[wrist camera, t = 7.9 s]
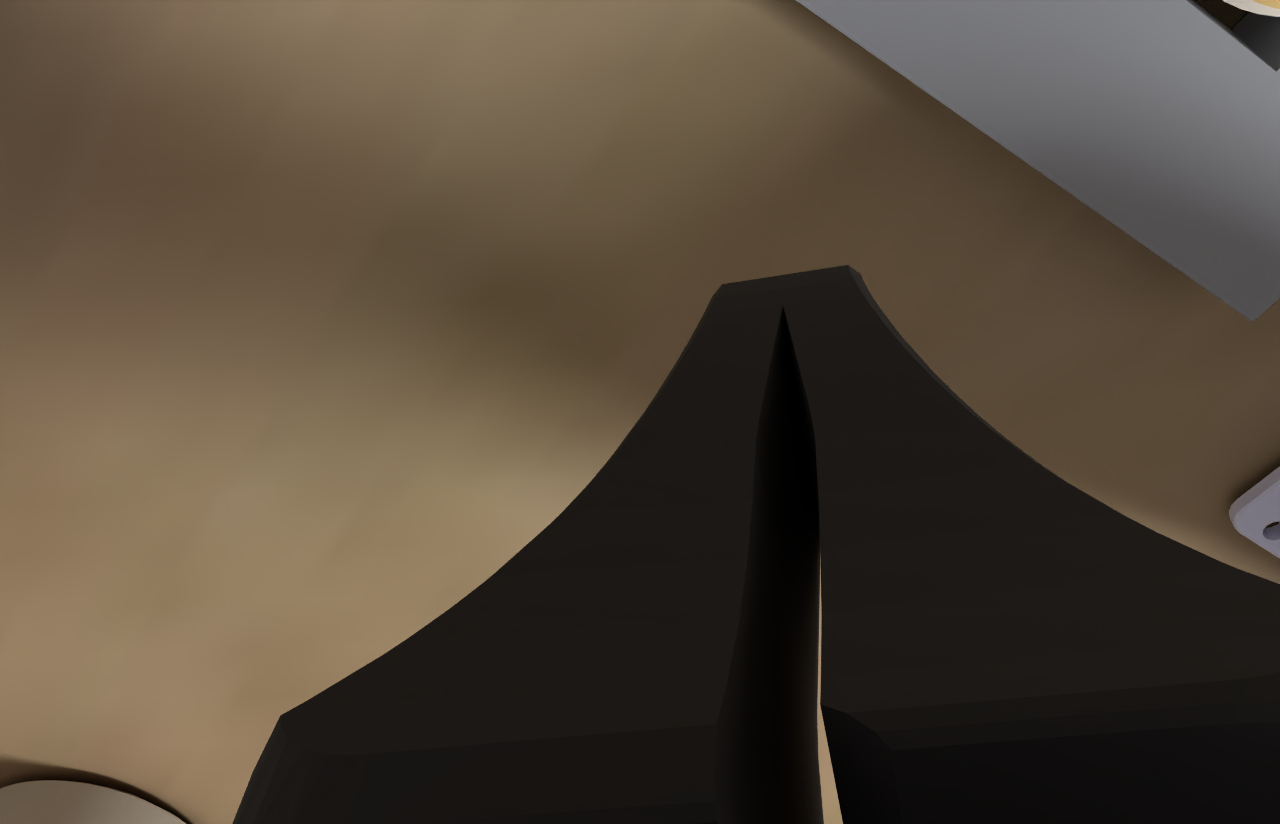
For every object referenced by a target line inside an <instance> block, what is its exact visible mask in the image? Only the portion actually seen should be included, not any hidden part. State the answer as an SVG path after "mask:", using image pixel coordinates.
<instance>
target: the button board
mask: <svg viewBox="0 0 1280 824" xmlns="http://www.w3.org/2000/svg"><path fill="white" fill-rule="evenodd" d="M796 1H798V2H799V3H800V4H802V5H803V6H805V7H806V8H808V9H809V10H810V11H812V12H813V13H815V14H816V15H817V16H819V17H820V18H822V19H823V20H825V21H826V22H827V23H829V24H830V25H832V26H833V27H834V28H836V29H837V30H839V31H840V32H842V33H843V34H844V35H846V36H847V37H849V38H850V39H851V40H853V41H854V42H856V43H857V44H859V45H860V46H861V47H863V48H864V49H866V50H867V51H868V52H870V53H871V54H873V55H874V56H876V57H877V58H878V59H880V60H881V61H883V62H884V63H886V64H887V65H888V66H890V67H891V68H893V69H894V70H895V71H897V72H898V73H900V74H901V75H903V76H904V77H905V78H907V79H908V80H910V81H911V82H912V83H914V84H915V85H917V86H918V87H920V88H921V89H922V90H924V91H925V92H927V93H928V94H929V95H931V96H932V97H934V98H935V99H937V100H938V101H939V102H941V103H942V104H944V105H945V106H946V107H948V108H949V109H951V110H952V111H954V112H955V113H956V114H958V115H959V116H961V117H962V118H964V119H965V120H966V121H968V122H969V123H971V124H972V125H973V126H975V127H976V128H978V129H979V130H981V131H982V132H983V133H985V134H986V135H988V136H989V137H990V138H992V139H993V140H995V141H996V142H998V143H999V144H1000V145H1002V146H1003V147H1005V148H1006V149H1007V150H1009V151H1010V152H1012V153H1013V154H1015V155H1016V156H1017V157H1019V158H1020V159H1022V160H1023V161H1024V162H1026V163H1027V164H1029V165H1030V166H1032V167H1033V168H1034V169H1036V170H1037V171H1039V172H1040V173H1042V174H1043V175H1044V176H1046V177H1047V178H1049V179H1050V180H1051V181H1053V182H1054V183H1056V184H1057V185H1059V186H1060V187H1061V188H1063V189H1064V190H1066V191H1067V192H1068V193H1070V194H1071V195H1073V196H1074V197H1076V198H1077V199H1078V200H1080V201H1081V202H1083V203H1084V204H1085V205H1087V206H1088V207H1090V208H1091V209H1093V210H1094V211H1095V212H1097V213H1098V214H1100V215H1101V216H1102V217H1104V218H1105V219H1107V220H1108V221H1110V222H1111V223H1112V224H1114V225H1115V226H1117V227H1118V228H1120V229H1121V230H1122V231H1124V232H1125V233H1127V234H1128V235H1129V236H1131V237H1132V238H1134V239H1135V240H1137V241H1138V242H1139V243H1141V244H1142V245H1144V246H1145V247H1146V248H1148V249H1149V250H1151V251H1152V252H1154V253H1155V254H1156V255H1158V256H1159V257H1161V258H1162V259H1163V260H1165V261H1166V262H1168V263H1169V264H1171V265H1172V266H1173V267H1175V268H1176V269H1178V270H1179V271H1180V272H1182V273H1183V274H1185V275H1186V276H1188V277H1189V278H1190V279H1192V280H1193V281H1195V282H1196V283H1198V284H1199V285H1200V286H1202V287H1203V288H1205V289H1206V290H1207V291H1209V292H1210V293H1212V294H1213V295H1215V296H1216V297H1217V298H1219V299H1220V300H1222V301H1223V302H1224V303H1226V304H1227V305H1229V306H1230V307H1232V308H1233V309H1234V310H1236V311H1237V312H1239V313H1240V314H1241V315H1243V316H1244V317H1246V318H1247V319H1249V320H1250V321H1251V322H1253V321H1254V320H1255V319H1257V318H1258V317H1259V316H1260V315H1261V314H1262V313H1263V312H1265V311H1266V310H1267V309H1268V308H1269V307H1270V306H1272V305H1273V304H1274V303H1275V302H1276V301H1277V300H1279V299H1280V17H1276V16H1268V15H1261V14H1256V13H1253V12H1249V13H1248V14H1247V15H1246V16H1245V17H1244V18H1243V19H1242V20H1241V21H1240V22H1239V23H1238V24H1237V25H1236V26H1235V27H1234V28H1233V29H1232V30H1231V29H1230V28H1228V27H1227V26H1226V25H1225V24H1223V23H1222V22H1221V21H1220V20H1218V19H1217V18H1216V17H1215V16H1213V15H1212V14H1211V13H1210V12H1208V11H1207V10H1206V9H1205V8H1203V7H1202V6H1201V5H1200V4H1198V3H1197V2H1196V1H1195V0H796Z"/></svg>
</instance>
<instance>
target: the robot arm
mask: <svg viewBox="0 0 1280 824" xmlns="http://www.w3.org/2000/svg"><path fill="white" fill-rule="evenodd" d="M1229 517H1230V520H1231V522H1232V524H1233V526H1234V528H1235V529H1236V530H1237V531H1238V532H1239V533H1240V534H1242V535H1243V536H1245V537H1246V538H1248V539H1250V540H1251V541H1253V542H1254V543H1256V544H1257V545H1259V546H1261V547H1262V548H1264V549H1265V550H1267V551H1269V552H1270V553H1272V554H1273V555H1275V556H1276V557H1278V558H1280V522H1279V521H1280V466H1279V467H1278V468H1277V469H1276V470H1274V471H1273V472H1272V473H1270V474H1269V475H1268V476H1266V477H1265V478H1264V479H1263V480H1261V481H1260V482H1259V483H1257V484H1256V485H1255V486H1253V487H1252V488H1251V489H1250V490H1248V491H1247V492H1246V493H1244V494H1243V495H1242V496H1240V497H1239V498H1238V499H1237V500H1236V501H1235V502H1234V503H1233V504H1232V505H1231V507H1230V510H1229ZM1273 522H1279V523H1278V524H1277V525H1275V526H1273V527H1269V528H1265V527H1266V526H1267V525H1269V524H1271V523H1273ZM820 552H821V602H822V638H821V699H820V705H821V710H822V716H823V721H824V726H825V731H826V736H827V742H828V747H829V752H830V757H831V763H832V768H833V773H834V778H835V783H836V789H837V794H838V799H839V804H840V809H841V815H842V820H843V824H1280V584H1277V583H1275V582H1272V581H1269V580H1266V579H1264V578H1261V577H1258V576H1256V575H1253V574H1250V573H1247V572H1245V571H1242V570H1239V569H1237V568H1234V567H1232V566H1229V565H1227V564H1225V563H1222V562H1220V561H1218V560H1215V559H1213V558H1211V557H1209V556H1207V555H1205V554H1202V553H1200V552H1198V551H1196V550H1194V549H1192V548H1189V547H1187V546H1185V545H1183V544H1181V543H1179V542H1176V541H1174V540H1172V539H1170V538H1168V537H1166V536H1163V535H1161V534H1159V533H1157V532H1155V531H1153V530H1151V529H1149V528H1147V527H1145V526H1143V525H1141V524H1139V523H1138V522H1136V521H1134V520H1132V519H1130V518H1128V517H1126V516H1124V515H1122V514H1121V513H1119V512H1117V511H1116V510H1114V509H1112V508H1110V507H1109V506H1107V505H1105V504H1103V503H1102V502H1100V501H1098V500H1097V499H1095V498H1093V497H1091V496H1090V495H1088V494H1086V493H1084V492H1083V491H1081V490H1079V489H1077V488H1076V487H1074V486H1072V485H1071V484H1069V483H1067V482H1066V481H1064V480H1063V479H1061V478H1060V477H1058V476H1057V475H1055V474H1054V473H1052V472H1051V471H1049V470H1048V469H1046V468H1045V467H1043V466H1042V465H1041V464H1039V463H1038V462H1037V461H1035V460H1034V459H1033V458H1031V457H1030V456H1029V455H1027V454H1026V453H1025V452H1023V451H1022V450H1021V449H1019V448H1018V447H1017V446H1015V445H1014V444H1012V443H1011V442H1010V441H1009V440H1007V439H1006V438H1005V437H1004V436H1002V435H1001V434H1000V433H999V432H998V431H996V430H995V429H994V428H993V427H992V426H990V425H989V424H988V423H987V422H986V421H985V420H983V419H982V418H981V417H980V416H979V415H978V414H976V413H975V412H974V411H973V410H972V409H971V408H970V407H969V406H968V405H967V404H966V403H965V402H964V401H962V400H961V399H960V398H959V397H958V396H957V395H956V394H955V393H954V392H953V391H952V390H951V389H950V388H949V387H948V386H947V385H946V384H945V383H944V382H943V381H942V380H941V379H940V378H939V377H938V376H937V375H936V374H935V373H934V372H933V371H932V370H931V369H930V368H929V367H928V365H927V364H926V363H925V362H924V361H923V360H922V359H921V358H920V357H919V355H918V354H917V353H916V352H915V351H914V350H913V349H912V348H911V347H910V345H909V344H908V343H907V342H906V341H905V340H904V339H903V337H902V336H901V335H900V334H899V332H898V331H897V330H896V329H895V328H894V326H893V325H892V324H891V322H890V321H889V320H888V318H887V317H886V316H885V314H884V313H883V312H882V310H881V309H880V307H879V306H878V305H877V303H876V302H875V300H874V299H873V297H872V295H871V294H870V292H869V291H868V289H867V287H866V285H865V283H864V281H863V279H862V276H861V274H860V273H858V272H857V271H855V270H854V269H853V268H851V267H850V266H849V265H845V266H839V267H832V268H826V269H819V270H813V271H806V272H800V273H793V274H787V275H780V276H774V277H767V278H761V279H755V280H748V281H742V282H735V283H729V284H722V285H721V287H720V288H719V289H718V290H717V292H716V293H715V294H714V295H713V297H712V299H711V301H710V303H709V305H708V307H707V309H706V311H705V313H704V314H703V316H702V318H701V320H700V322H699V324H698V326H697V328H696V329H695V331H694V333H693V335H692V337H691V338H690V340H689V342H688V344H687V345H686V347H685V349H684V351H683V352H682V354H681V356H680V358H679V359H678V361H677V362H676V364H675V366H674V367H673V369H672V370H671V372H670V373H669V375H668V377H667V378H666V380H665V381H664V383H663V385H662V386H661V388H660V389H659V391H658V392H657V394H656V396H655V397H654V399H653V400H652V402H651V403H650V405H649V406H648V408H647V409H646V411H645V412H644V413H643V415H642V416H641V417H640V419H639V420H638V421H637V423H636V424H635V425H634V427H633V428H632V429H631V431H630V432H629V434H628V435H627V436H626V438H625V439H624V440H623V442H622V443H621V444H620V446H619V447H618V448H617V450H616V451H615V453H614V454H613V455H612V456H611V458H610V459H609V460H608V461H607V463H606V464H605V465H604V466H603V468H602V469H601V470H600V471H599V472H598V474H597V475H596V476H595V477H594V478H593V480H592V481H591V482H590V483H589V484H588V485H587V486H586V488H585V489H584V490H583V491H582V492H581V493H580V494H579V495H578V496H577V497H576V498H575V499H574V500H573V501H572V502H571V503H570V505H569V506H568V507H567V508H566V509H565V510H564V511H563V512H562V513H561V514H560V515H559V516H558V517H557V518H556V519H555V520H554V521H553V522H552V523H551V524H550V525H548V526H547V527H546V528H545V529H544V530H543V531H542V532H541V533H539V534H538V535H537V536H536V537H535V538H534V539H533V540H532V541H530V542H529V543H528V544H527V545H526V546H525V547H524V548H523V549H522V550H520V551H519V552H518V553H517V554H516V555H515V556H514V557H513V558H511V559H510V560H509V561H508V562H507V563H506V564H505V565H504V566H502V567H501V568H500V569H499V570H498V571H497V572H496V573H495V574H493V575H492V576H491V577H490V578H489V579H487V580H486V581H485V582H484V583H482V584H481V585H480V586H479V587H477V588H476V589H475V590H473V591H472V592H471V593H470V594H468V595H467V596H466V597H464V598H463V599H462V600H460V601H459V602H458V603H457V604H455V605H454V606H453V607H451V608H450V609H449V610H447V611H446V612H445V613H443V614H442V615H440V616H439V617H438V618H436V619H435V620H433V621H432V622H430V623H429V624H428V625H426V626H425V627H423V628H422V629H421V630H419V631H418V632H416V633H415V634H414V635H412V636H411V637H409V638H408V639H406V640H405V641H403V642H402V643H400V644H399V645H397V646H396V647H394V648H393V649H391V650H390V651H388V652H387V653H385V654H384V655H382V656H380V657H379V658H377V659H375V660H374V661H372V662H371V663H369V664H367V665H366V666H364V667H362V668H361V669H359V670H357V671H356V672H354V673H352V674H351V675H349V676H347V677H346V678H344V679H342V680H341V681H339V682H337V683H336V684H334V685H332V686H331V687H329V688H327V689H326V690H324V691H322V692H321V693H319V694H317V695H316V696H314V697H312V698H311V699H309V700H307V701H306V702H304V703H302V704H300V705H299V706H297V707H295V708H293V709H291V710H290V711H288V712H286V713H284V714H282V715H281V716H280V718H279V720H278V722H277V724H276V726H275V728H274V730H273V732H272V734H271V736H270V738H269V740H268V742H267V744H266V746H265V748H264V750H263V752H262V754H261V756H260V758H259V760H258V763H257V765H256V767H255V769H254V771H253V773H252V776H251V778H250V781H249V783H248V786H247V788H246V791H245V793H244V796H243V798H242V801H241V804H240V806H239V809H238V811H237V814H236V816H235V819H234V821H233V824H824V821H823V809H822V797H821V785H820V773H819V761H818V731H817V693H818V644H819V596H820Z"/></svg>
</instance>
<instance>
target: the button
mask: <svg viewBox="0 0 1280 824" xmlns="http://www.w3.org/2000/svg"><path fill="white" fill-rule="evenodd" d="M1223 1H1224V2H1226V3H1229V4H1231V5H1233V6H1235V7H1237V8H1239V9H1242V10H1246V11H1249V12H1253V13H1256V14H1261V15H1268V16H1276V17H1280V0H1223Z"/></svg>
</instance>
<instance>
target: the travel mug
mask: <svg viewBox="0 0 1280 824" xmlns="http://www.w3.org/2000/svg"><path fill="white" fill-rule="evenodd" d="M0 824H186V823H185V822H183V821H182V820H180V819H179V818H178V817H176V816H175V815H174V814H172V813H170V812H168V811H166V810H164V809H162V808H160V807H158V806H156V805H154V804H151V803H149V802H147V801H145V800H143V799H141V798H139V797H137V796H135V795H133V794H130V793H128V792H125V791H121V790H117V789H112V788H108V787H103V786H99V785H94V784H90V783H81V782H71V781H56V780H42V781H29V782H22V783H17V784H13V785H9V786H6V787H3V788H0Z"/></svg>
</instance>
